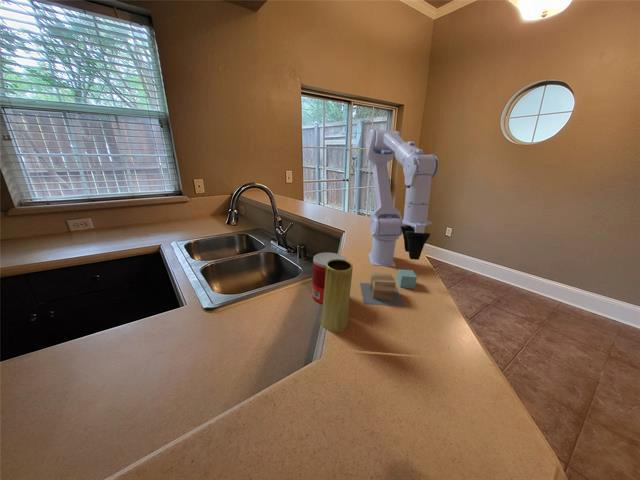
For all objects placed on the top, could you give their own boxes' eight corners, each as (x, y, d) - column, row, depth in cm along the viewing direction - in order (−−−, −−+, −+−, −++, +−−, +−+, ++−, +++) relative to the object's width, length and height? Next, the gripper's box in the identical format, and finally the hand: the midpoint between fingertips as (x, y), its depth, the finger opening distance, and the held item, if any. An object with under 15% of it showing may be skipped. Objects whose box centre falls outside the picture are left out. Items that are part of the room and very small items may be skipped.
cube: (396, 281, 73) (398, 269, 71) (410, 282, 72) (412, 270, 71) (399, 288, 69) (402, 276, 67) (414, 289, 69) (417, 277, 67)
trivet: (359, 284, 70) (359, 282, 70) (395, 286, 70) (395, 285, 70) (363, 305, 61) (363, 303, 61) (404, 307, 60) (405, 306, 60)
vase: (351, 318, 56) (357, 261, 51) (344, 336, 50) (351, 274, 45) (325, 312, 57) (329, 255, 52) (316, 328, 52) (319, 268, 47)
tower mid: (371, 280, 67) (372, 271, 66) (389, 281, 66) (391, 272, 66) (373, 290, 62) (375, 281, 61) (394, 291, 62) (395, 282, 61)
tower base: (369, 288, 68) (371, 280, 67) (388, 289, 67) (389, 281, 66) (372, 298, 63) (373, 290, 62) (392, 299, 63) (394, 291, 62)
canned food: (341, 309, 59) (344, 267, 55) (308, 304, 60) (309, 263, 56) (344, 292, 66) (348, 254, 62) (315, 287, 67) (316, 250, 63)
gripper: (441, 206, 56) (434, 264, 59) (426, 202, 70) (421, 249, 73) (408, 205, 57) (403, 262, 60) (400, 201, 71) (396, 248, 74)
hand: (411, 255), depth 66 cm, fingers open, 7 cm apart
